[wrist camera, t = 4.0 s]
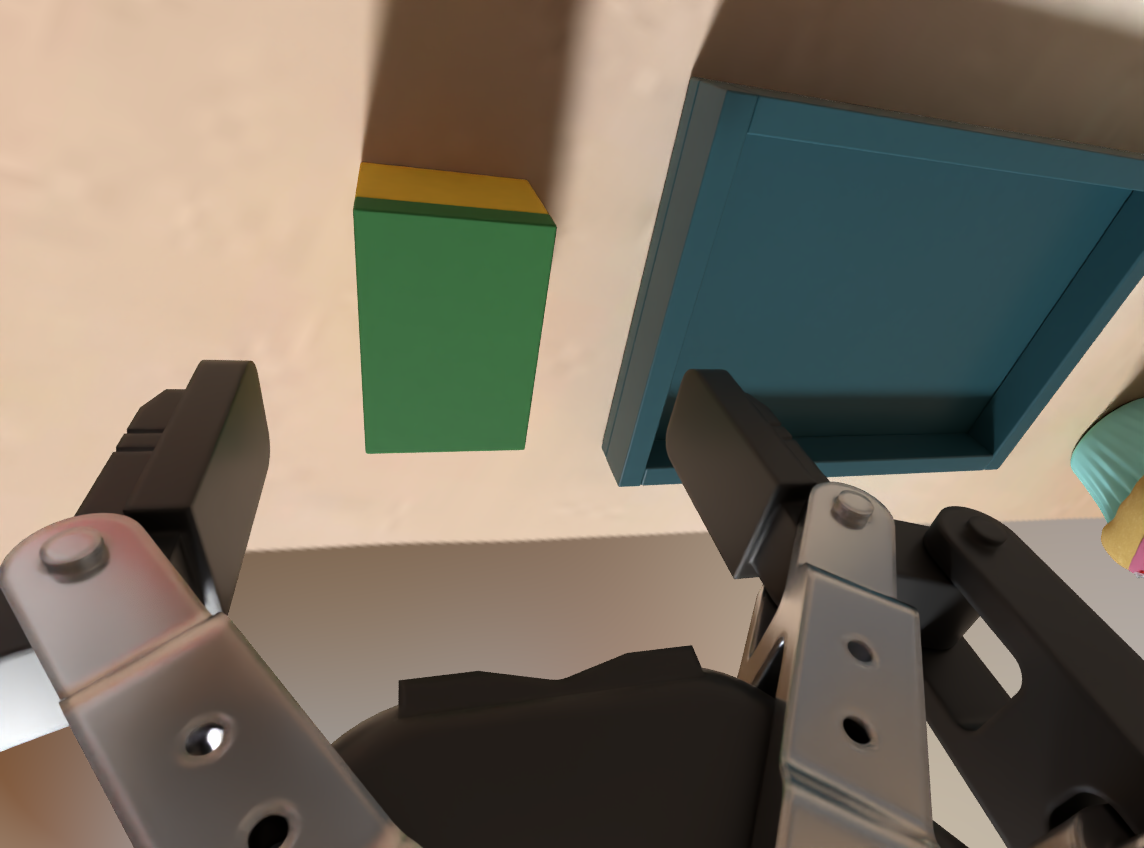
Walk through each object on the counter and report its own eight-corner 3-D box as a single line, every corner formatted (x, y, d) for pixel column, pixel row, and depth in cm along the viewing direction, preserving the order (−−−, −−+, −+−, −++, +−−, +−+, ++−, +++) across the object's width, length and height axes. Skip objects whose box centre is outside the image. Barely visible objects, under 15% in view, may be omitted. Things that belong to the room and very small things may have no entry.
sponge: (505, 379, 18) (524, 450, 16) (369, 378, 17) (365, 454, 15) (527, 179, 15) (557, 225, 12) (360, 161, 14) (352, 208, 11)
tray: (600, 447, 21) (618, 487, 19) (690, 76, 14) (727, 89, 13) (960, 438, 26) (998, 470, 24) (1152, 155, 19) (1222, 173, 18)
